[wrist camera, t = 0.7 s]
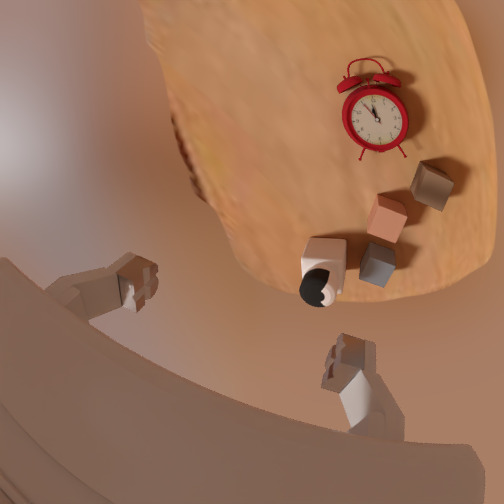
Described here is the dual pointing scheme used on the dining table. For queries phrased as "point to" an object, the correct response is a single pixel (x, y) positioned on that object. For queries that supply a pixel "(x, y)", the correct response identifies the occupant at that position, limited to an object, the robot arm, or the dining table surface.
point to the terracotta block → (386, 218)
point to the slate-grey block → (377, 264)
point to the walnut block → (431, 186)
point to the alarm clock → (374, 113)
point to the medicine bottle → (323, 270)
